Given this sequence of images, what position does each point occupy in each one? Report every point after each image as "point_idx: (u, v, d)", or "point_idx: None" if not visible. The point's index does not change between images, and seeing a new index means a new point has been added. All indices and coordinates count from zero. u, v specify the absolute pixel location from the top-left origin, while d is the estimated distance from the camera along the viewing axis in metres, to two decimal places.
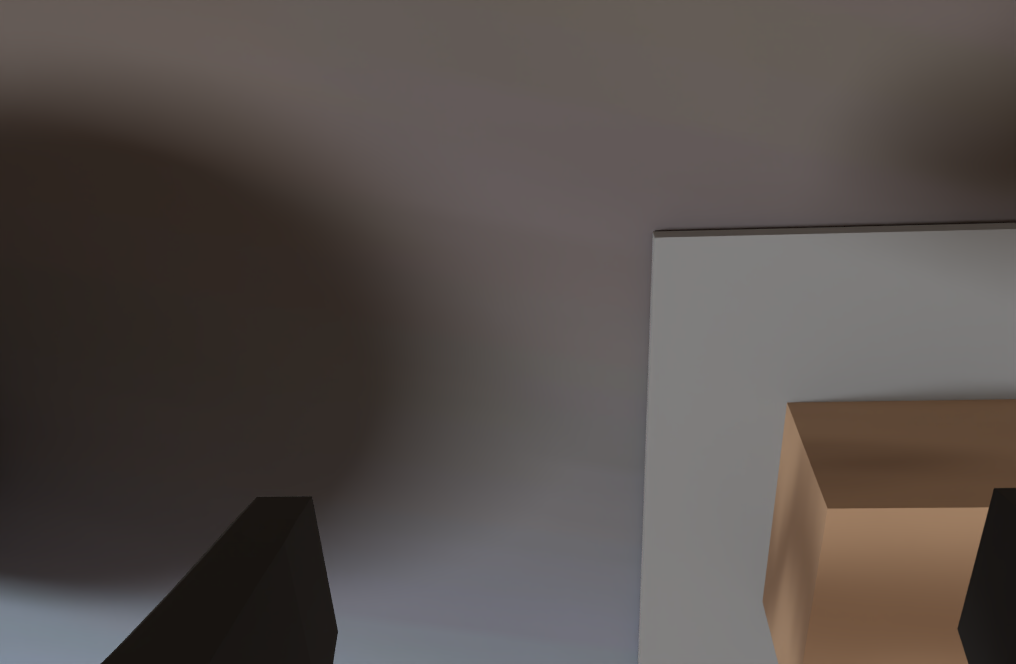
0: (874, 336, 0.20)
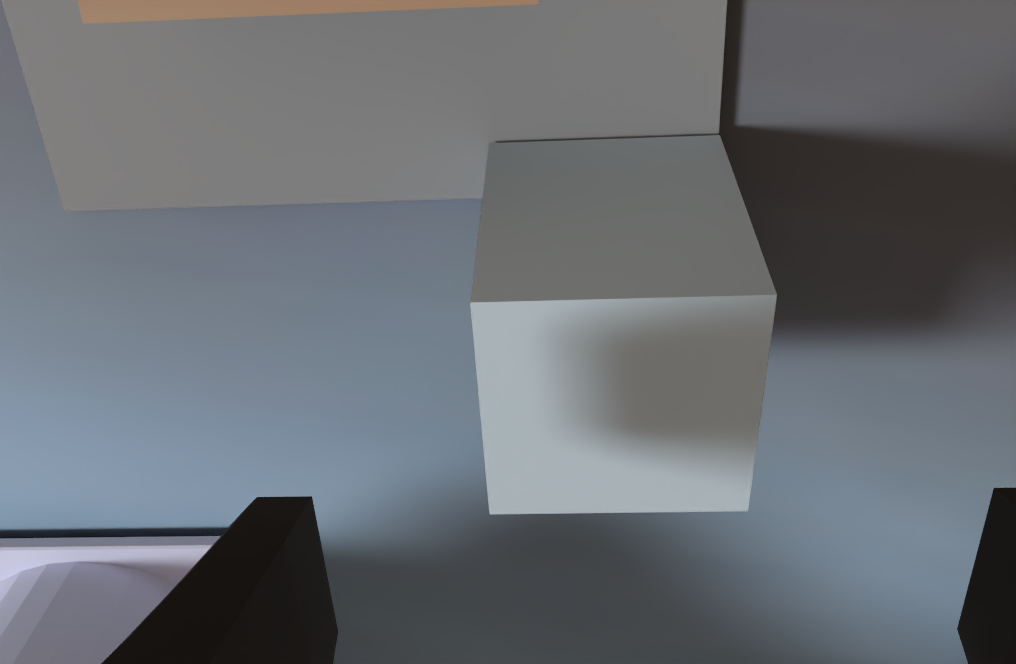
0: None
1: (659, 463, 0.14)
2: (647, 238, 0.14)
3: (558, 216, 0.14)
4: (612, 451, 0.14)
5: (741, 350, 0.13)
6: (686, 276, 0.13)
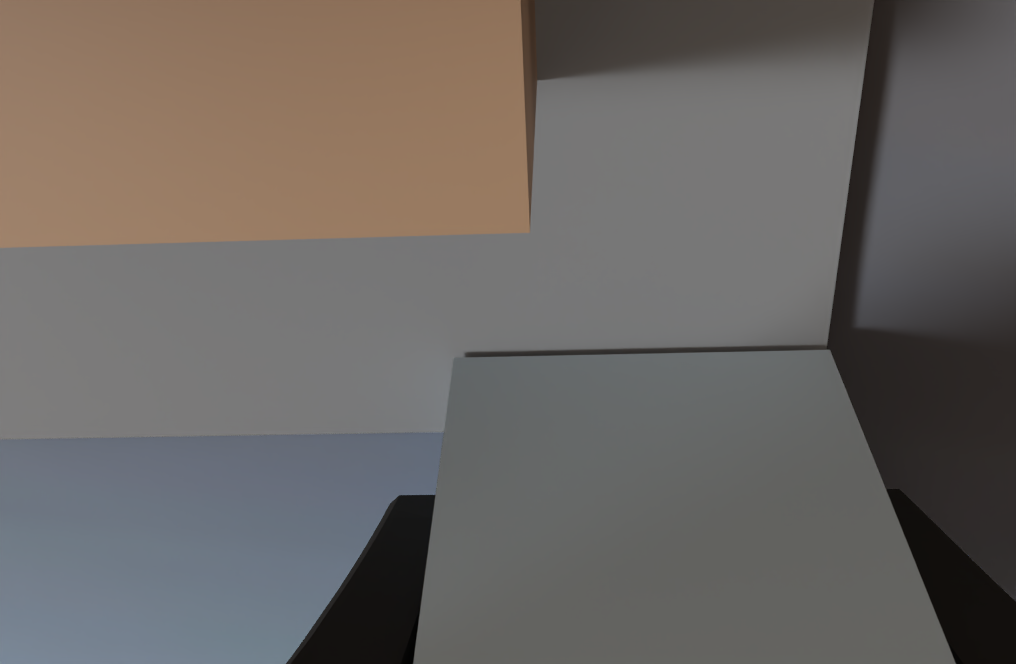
0: None
1: None
2: (733, 622, 0.07)
3: (568, 549, 0.08)
4: None
5: None
6: None
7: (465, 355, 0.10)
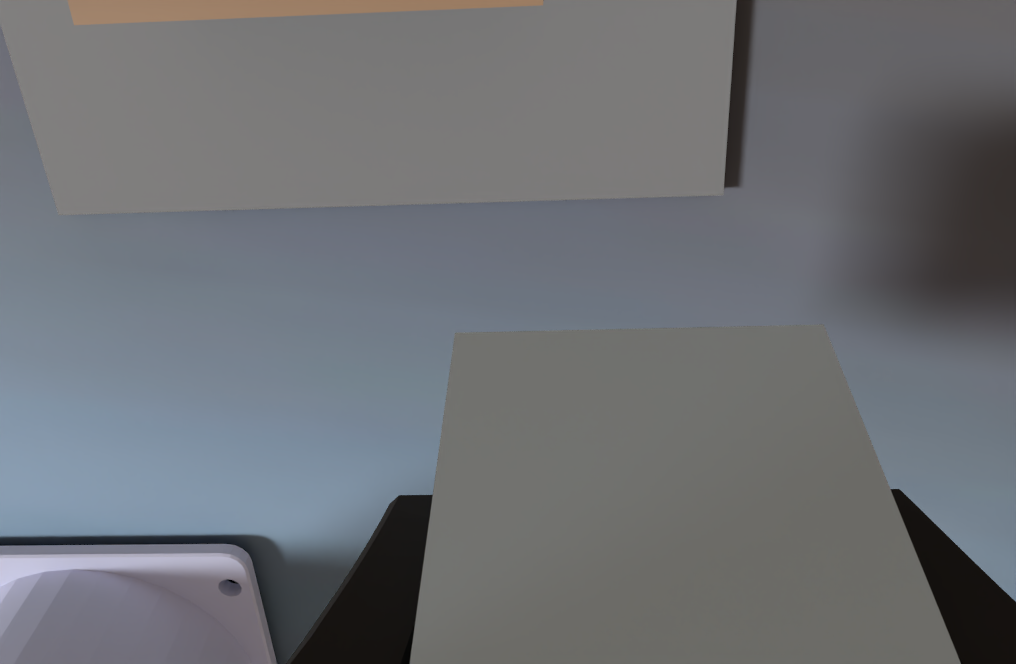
0: None
1: None
2: (727, 581, 0.08)
3: (565, 513, 0.08)
4: None
5: None
6: None
7: (498, 146, 0.16)
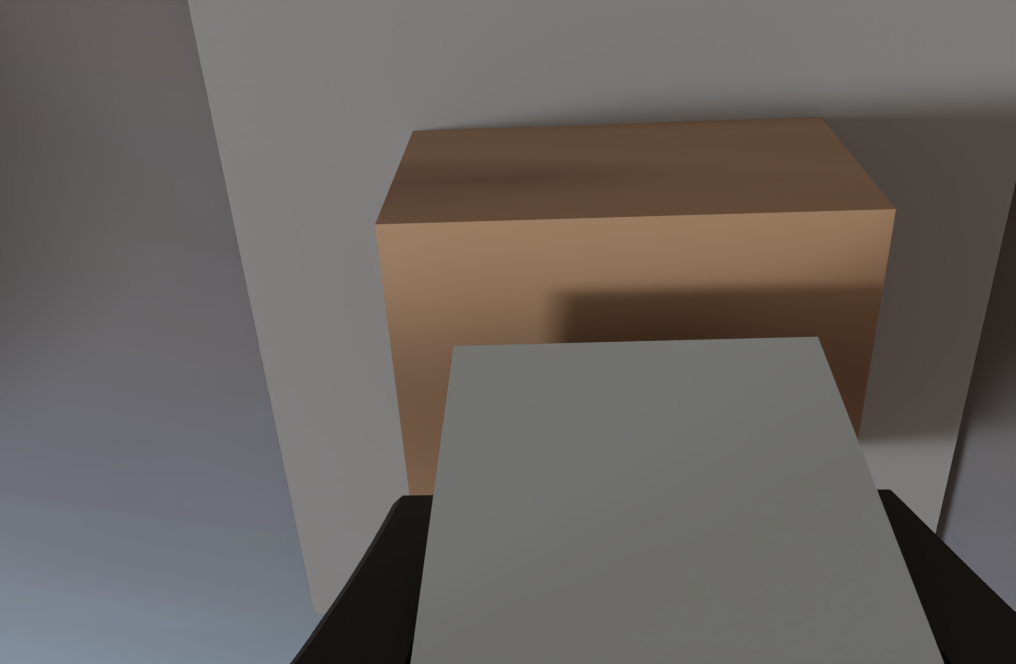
0: (516, 14, 0.13)
1: None
2: (719, 595, 0.08)
3: (563, 527, 0.08)
4: None
5: None
6: None
7: None
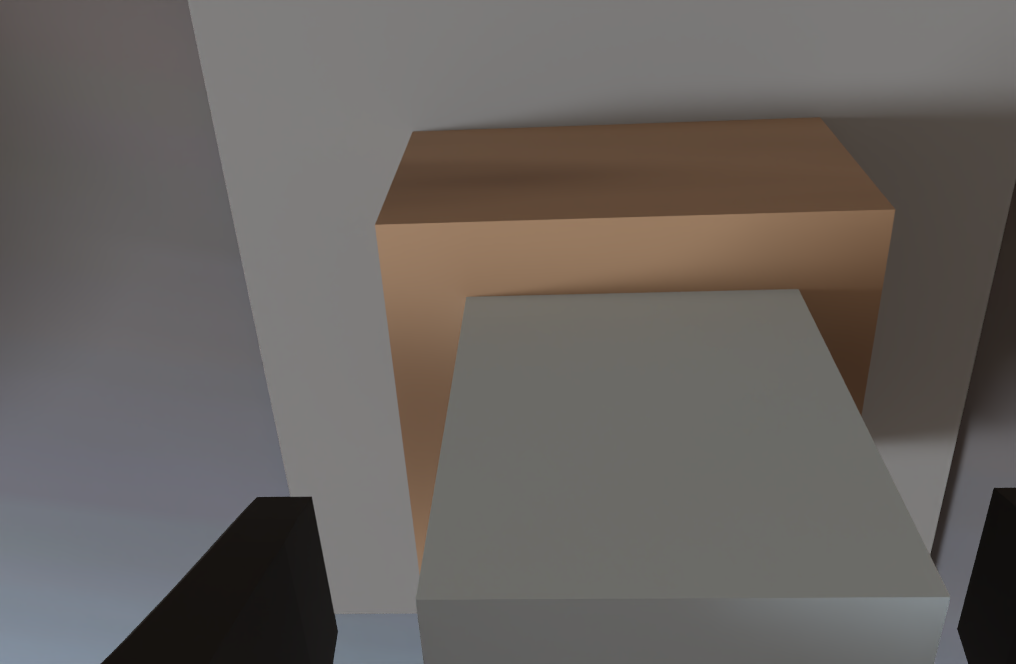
0: (516, 14, 0.13)
1: None
2: (710, 471, 0.08)
3: (566, 423, 0.09)
4: None
5: None
6: (783, 552, 0.08)
7: None
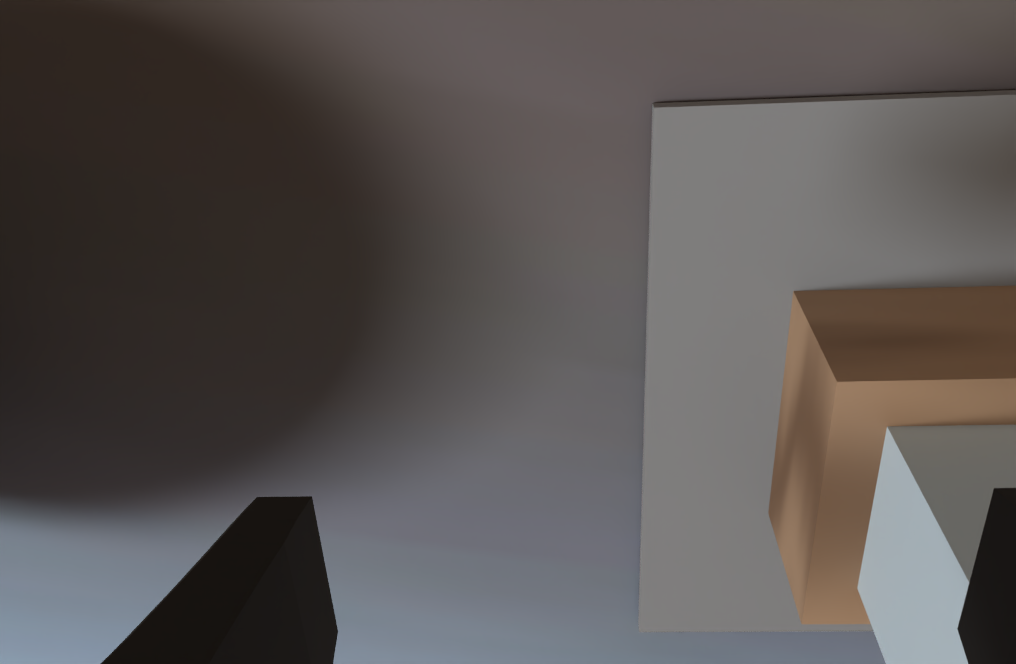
0: (884, 216, 0.19)
1: None
2: None
3: None
4: None
5: None
6: None
7: None
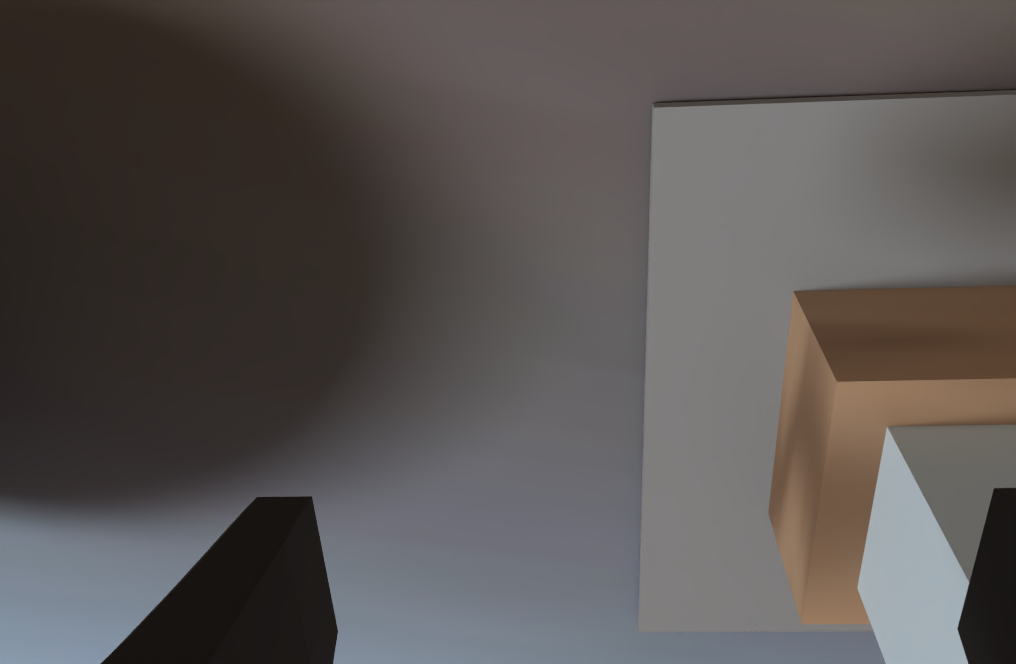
0: (884, 216, 0.19)
1: None
2: None
3: None
4: None
5: None
6: None
7: None
